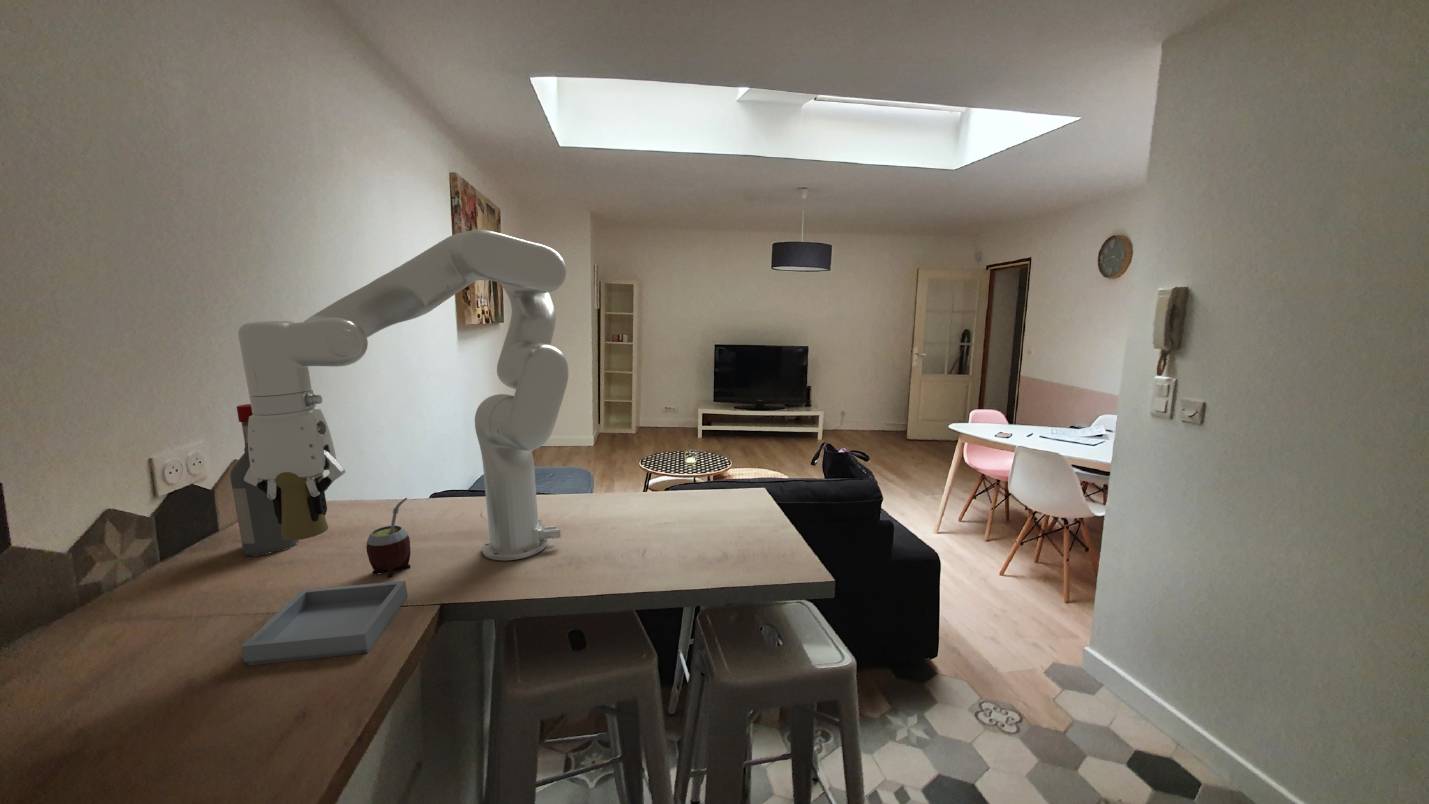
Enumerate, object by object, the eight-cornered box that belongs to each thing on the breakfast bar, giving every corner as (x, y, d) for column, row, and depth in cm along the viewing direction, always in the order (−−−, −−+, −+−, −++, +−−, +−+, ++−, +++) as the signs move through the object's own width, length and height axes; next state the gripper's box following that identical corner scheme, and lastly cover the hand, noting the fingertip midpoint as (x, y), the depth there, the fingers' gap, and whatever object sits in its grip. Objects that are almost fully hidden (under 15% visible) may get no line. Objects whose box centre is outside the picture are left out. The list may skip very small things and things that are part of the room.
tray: (407, 597, 99) (405, 580, 98) (367, 653, 83) (364, 634, 83) (305, 606, 96) (302, 589, 96) (244, 665, 81) (240, 646, 80)
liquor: (244, 560, 114) (218, 411, 109) (242, 545, 121) (217, 405, 115) (300, 546, 120) (278, 405, 114) (295, 533, 127) (274, 399, 121)
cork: (303, 542, 86) (291, 471, 84) (271, 538, 88) (258, 469, 86) (337, 526, 92) (327, 460, 90) (307, 523, 94) (296, 458, 92)
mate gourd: (373, 566, 110) (363, 491, 107) (419, 558, 113) (410, 485, 111) (367, 584, 103) (356, 504, 101) (416, 575, 106) (407, 498, 104)
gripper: (354, 397, 91) (370, 506, 94) (239, 402, 89) (260, 514, 92) (329, 406, 84) (348, 525, 87) (203, 412, 82) (227, 533, 85)
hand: (302, 518), depth 90 cm, fingers closed on cork, 3 cm apart
